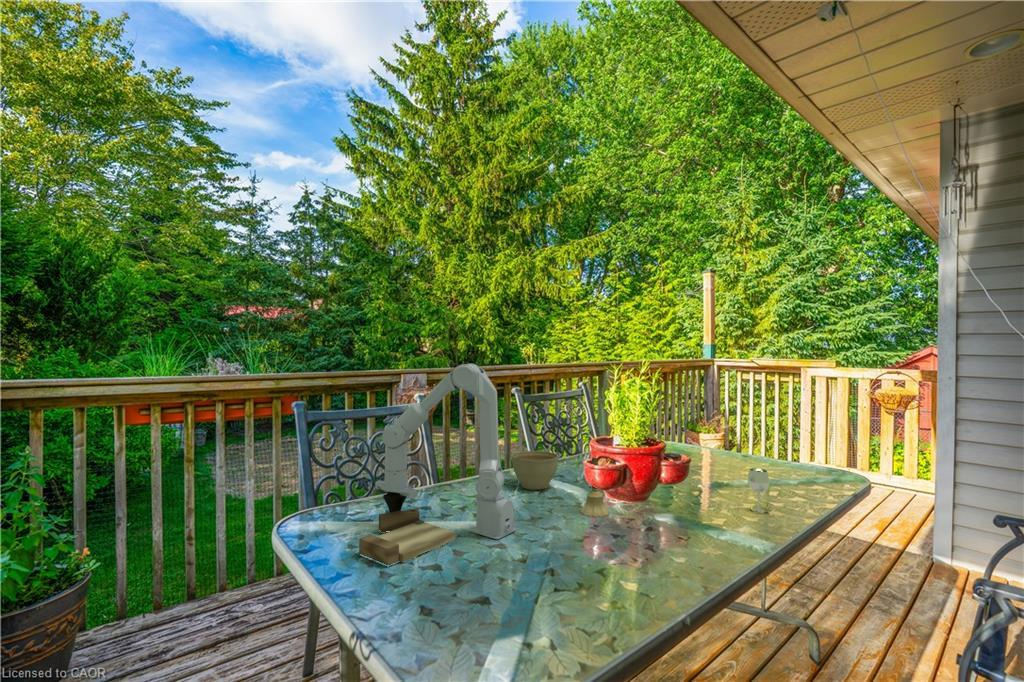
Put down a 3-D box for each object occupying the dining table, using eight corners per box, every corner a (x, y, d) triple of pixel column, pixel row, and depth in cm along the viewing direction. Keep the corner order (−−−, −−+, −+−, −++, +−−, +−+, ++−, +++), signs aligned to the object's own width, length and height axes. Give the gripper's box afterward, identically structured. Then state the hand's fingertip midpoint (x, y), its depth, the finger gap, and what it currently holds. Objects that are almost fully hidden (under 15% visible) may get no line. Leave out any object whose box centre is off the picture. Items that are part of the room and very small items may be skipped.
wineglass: (764, 508, 149) (764, 468, 150) (772, 514, 144) (772, 472, 144) (744, 507, 150) (744, 467, 150) (752, 513, 144) (752, 472, 144)
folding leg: (419, 526, 131) (419, 510, 131) (381, 533, 126) (381, 516, 126) (415, 523, 134) (415, 507, 134) (378, 529, 129) (378, 513, 129)
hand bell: (601, 519, 138) (601, 462, 139) (575, 513, 143) (575, 458, 144) (614, 511, 145) (614, 457, 145) (589, 506, 150) (589, 453, 150)
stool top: (455, 540, 123) (455, 523, 123) (391, 569, 106) (391, 550, 106) (419, 528, 130) (419, 513, 130) (353, 553, 114) (353, 536, 114)
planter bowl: (566, 484, 174) (566, 453, 174) (544, 496, 160) (544, 462, 160) (526, 478, 182) (526, 448, 182) (502, 488, 168) (502, 456, 169)
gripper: (425, 470, 131) (425, 522, 131) (389, 462, 140) (389, 510, 140) (405, 475, 125) (404, 529, 125) (369, 467, 134) (368, 517, 134)
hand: (395, 520), depth 132 cm, fingers closed
